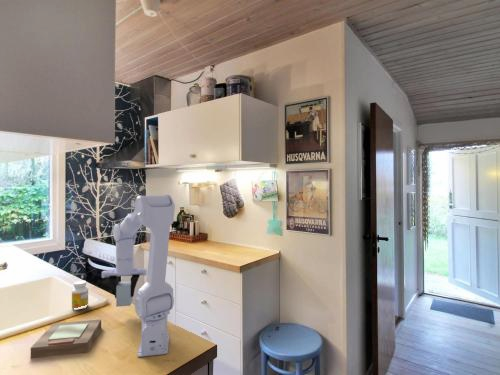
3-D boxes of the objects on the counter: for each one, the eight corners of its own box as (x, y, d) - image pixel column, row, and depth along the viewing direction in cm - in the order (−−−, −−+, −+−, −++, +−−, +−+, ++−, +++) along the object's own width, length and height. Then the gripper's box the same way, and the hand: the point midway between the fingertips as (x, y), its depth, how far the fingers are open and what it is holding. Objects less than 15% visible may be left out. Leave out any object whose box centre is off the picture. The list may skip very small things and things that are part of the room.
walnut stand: (87, 352, 82) (87, 340, 82) (30, 358, 79) (30, 346, 79) (101, 327, 96) (101, 318, 96) (53, 332, 93) (53, 322, 93)
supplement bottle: (68, 308, 110) (68, 283, 110) (82, 303, 115) (82, 279, 115) (77, 312, 107) (77, 285, 107) (91, 306, 112) (91, 281, 112)
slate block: (130, 305, 101) (130, 285, 101) (116, 306, 101) (116, 286, 100) (132, 300, 106) (132, 281, 106) (119, 301, 105) (119, 281, 105)
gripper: (148, 254, 108) (147, 290, 109) (105, 256, 105) (105, 293, 105) (145, 259, 101) (145, 298, 102) (99, 261, 98) (99, 301, 99)
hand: (124, 296), depth 103 cm, fingers closed on slate block, 4 cm apart
